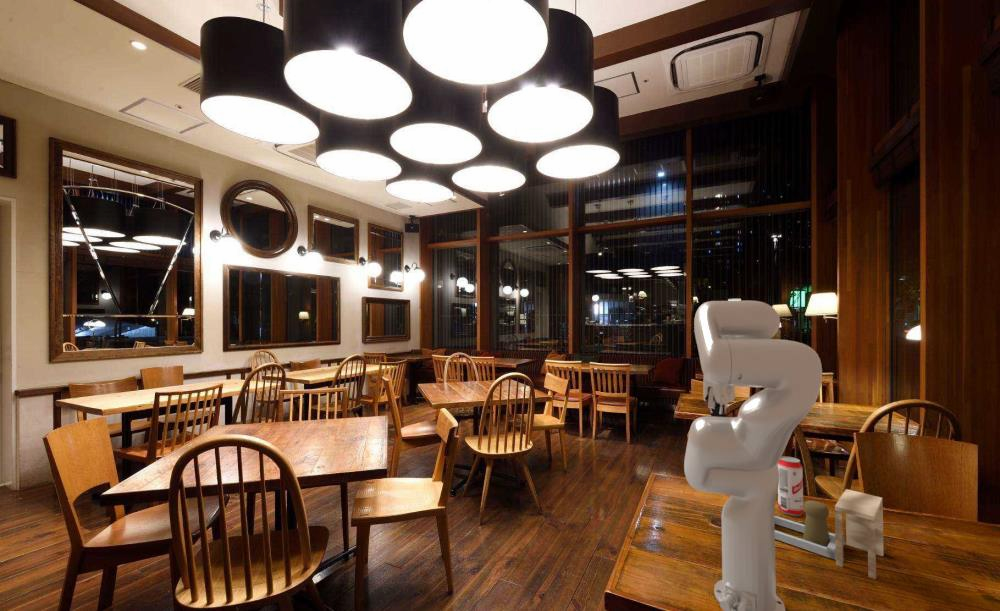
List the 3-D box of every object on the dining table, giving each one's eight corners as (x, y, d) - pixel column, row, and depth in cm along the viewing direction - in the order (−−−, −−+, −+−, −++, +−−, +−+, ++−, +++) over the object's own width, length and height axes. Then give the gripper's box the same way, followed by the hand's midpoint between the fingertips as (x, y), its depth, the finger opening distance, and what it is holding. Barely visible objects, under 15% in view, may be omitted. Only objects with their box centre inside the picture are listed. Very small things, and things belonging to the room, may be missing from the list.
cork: (837, 553, 103) (836, 508, 104) (811, 551, 104) (810, 507, 104) (821, 539, 109) (820, 498, 110) (797, 538, 110) (796, 497, 110)
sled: (844, 544, 107) (844, 520, 107) (836, 560, 100) (835, 535, 100) (754, 515, 122) (753, 494, 122) (741, 527, 115) (741, 505, 116)
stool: (883, 554, 103) (882, 497, 103) (875, 579, 93) (874, 516, 93) (847, 542, 108) (846, 488, 108) (836, 565, 98) (834, 505, 99)
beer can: (773, 510, 126) (772, 457, 127) (786, 506, 129) (785, 454, 129) (795, 519, 120) (794, 464, 121) (808, 514, 123) (807, 460, 123)
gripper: (721, 363, 105) (722, 436, 104) (742, 359, 115) (743, 425, 114) (691, 361, 110) (692, 430, 110) (714, 357, 120) (714, 420, 120)
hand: (718, 427), depth 112 cm, fingers closed
